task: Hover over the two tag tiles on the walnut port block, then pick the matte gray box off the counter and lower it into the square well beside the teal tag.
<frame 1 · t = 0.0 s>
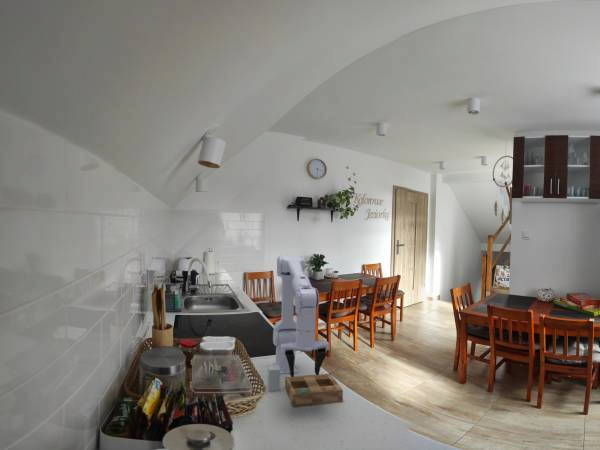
hand: (304, 374, 97), 10 cm above the worktop, fingers open, 7 cm apart
matte gray box: (273, 388, 108), on the worktop
port block: (312, 394, 105), on the worktop
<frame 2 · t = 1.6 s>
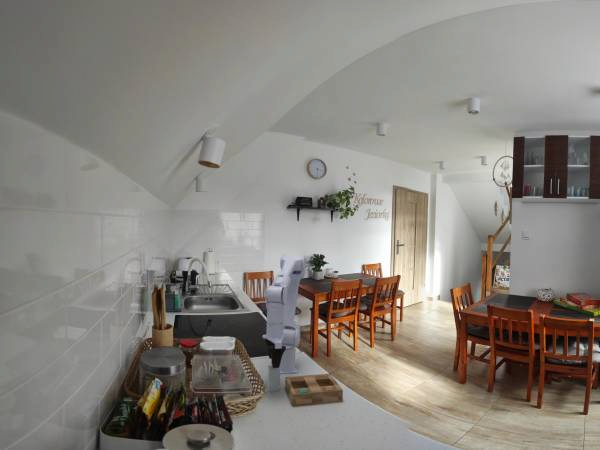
hand: (274, 362, 108), 9 cm above the worktop, fingers open, 7 cm apart
nothing on the worktop moved.
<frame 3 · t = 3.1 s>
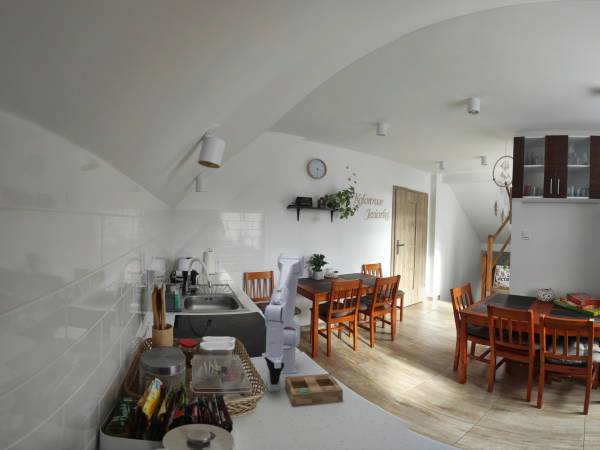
hand: (273, 381, 108), 2 cm above the worktop, fingers closed on matte gray box, 4 cm apart
matte gray box: (273, 388, 108), on the worktop, touching gripper
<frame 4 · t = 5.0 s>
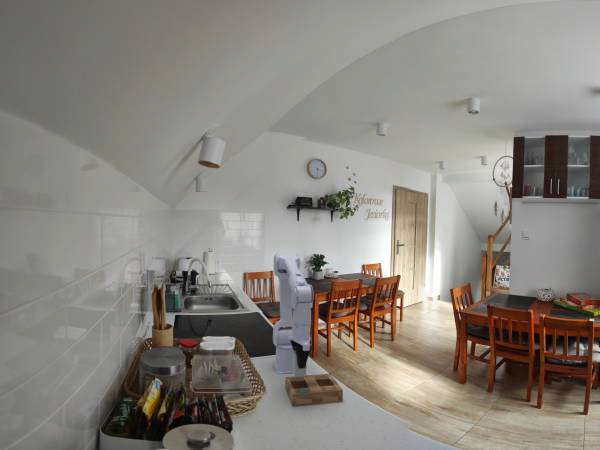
hand: (300, 365, 104), 10 cm above the worktop, fingers closed on matte gray box, 4 cm apart
matte gray box: (299, 374, 104), point 7 cm above the worktop, touching gripper
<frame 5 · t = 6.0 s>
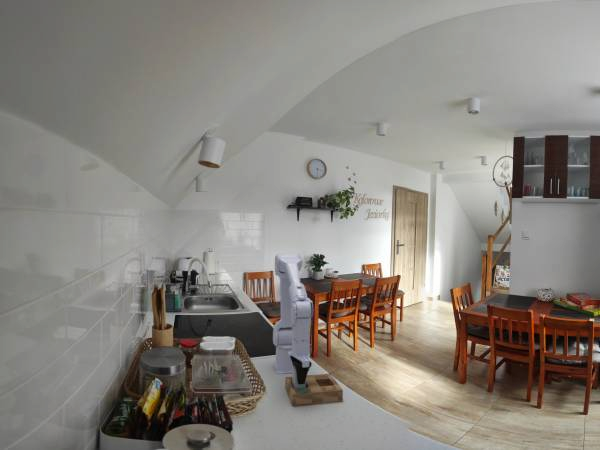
hand: (299, 380, 104), 5 cm above the worktop, fingers closed on matte gray box, 4 cm apart
matte gray box: (298, 389, 104), point 2 cm above the worktop, touching gripper
when the fingers open (4 cm above the worktop, at t = 6.9 s): matte gray box drops 1 cm, resting on port block.
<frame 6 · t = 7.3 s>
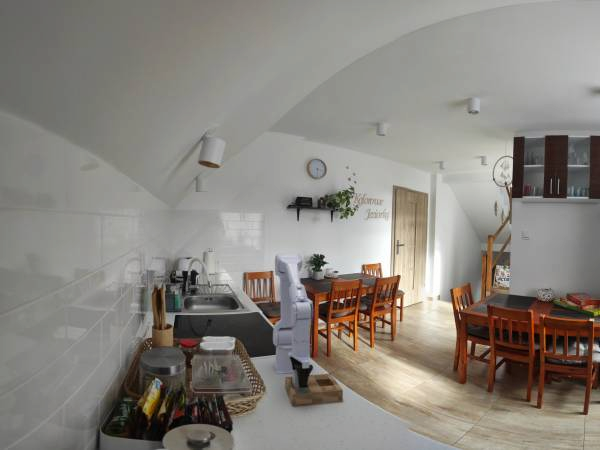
hand: (299, 381, 104), 4 cm above the worktop, fingers open, 7 cm apart
matte gray box: (298, 393, 104), resting on port block
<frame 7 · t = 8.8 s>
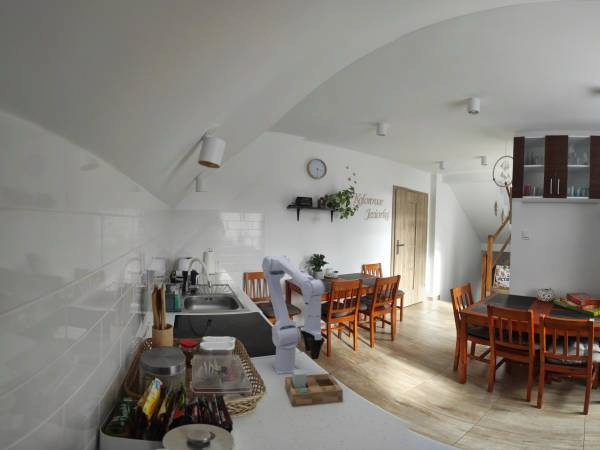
hand: (311, 354, 112), 10 cm above the worktop, fingers open, 7 cm apart
nothing on the worktop moved.
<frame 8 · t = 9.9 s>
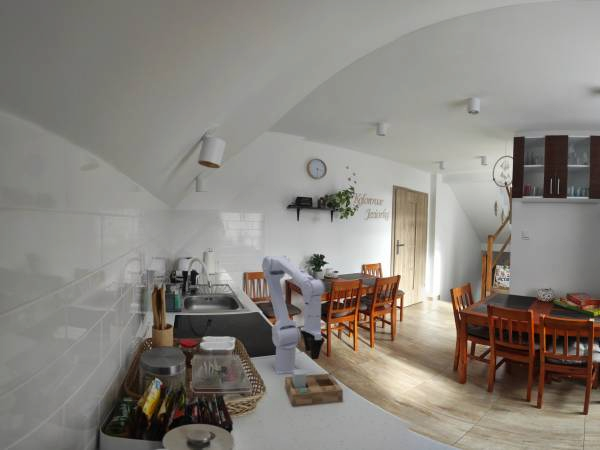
hand: (311, 354, 112), 10 cm above the worktop, fingers open, 7 cm apart
nothing on the worktop moved.
at the end: matte gray box 0.2 cm from the target spot on the port block, point 0.5 cm above the port block's base; matte gray box tilted 0°; the gripper is holding nothing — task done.
